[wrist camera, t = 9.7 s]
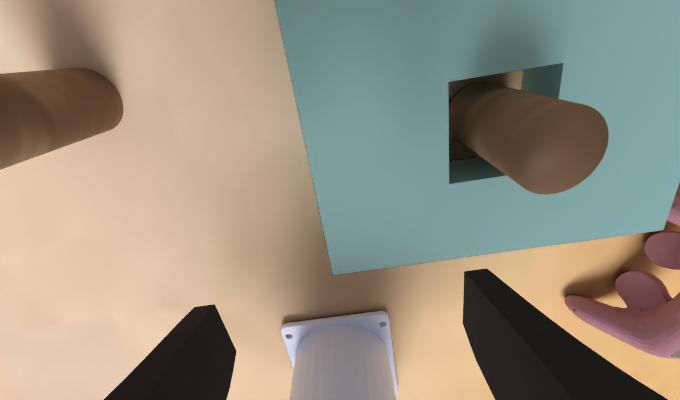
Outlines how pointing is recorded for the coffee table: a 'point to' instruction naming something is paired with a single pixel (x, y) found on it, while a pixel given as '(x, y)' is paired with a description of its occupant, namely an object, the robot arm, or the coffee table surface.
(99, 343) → the coffee table surface
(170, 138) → the coffee table surface
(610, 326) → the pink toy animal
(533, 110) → the short pin
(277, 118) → the coffee table surface
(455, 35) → the block
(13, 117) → the tall pin
